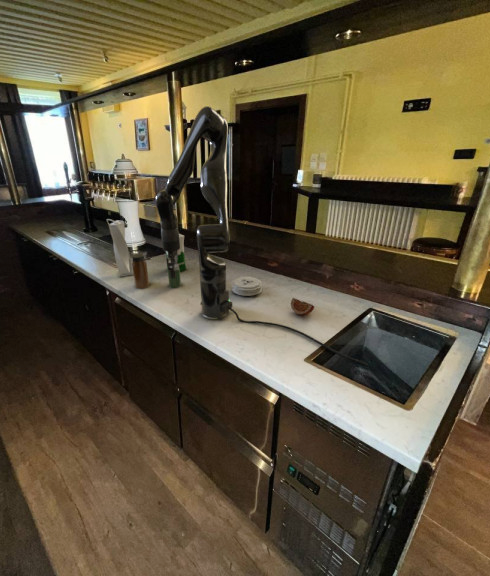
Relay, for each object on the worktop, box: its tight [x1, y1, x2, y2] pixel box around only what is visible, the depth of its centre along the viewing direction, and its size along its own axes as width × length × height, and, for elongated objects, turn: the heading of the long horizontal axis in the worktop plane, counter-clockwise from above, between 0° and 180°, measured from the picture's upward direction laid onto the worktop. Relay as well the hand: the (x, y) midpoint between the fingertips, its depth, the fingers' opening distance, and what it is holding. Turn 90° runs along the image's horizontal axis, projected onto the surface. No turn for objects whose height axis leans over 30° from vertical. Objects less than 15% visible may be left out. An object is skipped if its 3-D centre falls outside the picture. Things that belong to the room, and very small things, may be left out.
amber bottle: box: [131, 253, 150, 289], centre depth 135 cm, size 6×6×14 cm
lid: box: [231, 276, 263, 297], centre depth 127 cm, size 13×13×5 cm
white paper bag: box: [106, 218, 134, 278], centre depth 147 cm, size 8×8×28 cm
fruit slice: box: [290, 297, 315, 316], centre depth 109 cm, size 8×7×5 cm
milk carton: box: [165, 233, 187, 273], centre depth 150 cm, size 9×9×20 cm
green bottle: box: [166, 264, 182, 289], centre depth 135 cm, size 5×5×10 cm
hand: (174, 275), depth 135 cm, fingers closed on green bottle, 5 cm apart
